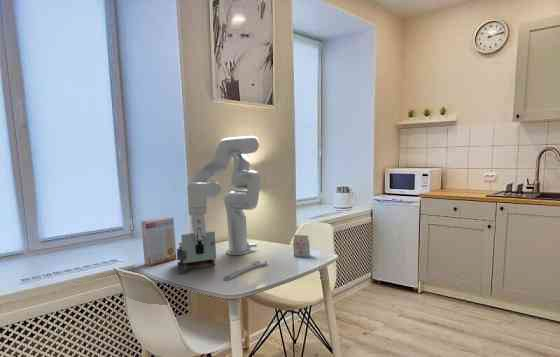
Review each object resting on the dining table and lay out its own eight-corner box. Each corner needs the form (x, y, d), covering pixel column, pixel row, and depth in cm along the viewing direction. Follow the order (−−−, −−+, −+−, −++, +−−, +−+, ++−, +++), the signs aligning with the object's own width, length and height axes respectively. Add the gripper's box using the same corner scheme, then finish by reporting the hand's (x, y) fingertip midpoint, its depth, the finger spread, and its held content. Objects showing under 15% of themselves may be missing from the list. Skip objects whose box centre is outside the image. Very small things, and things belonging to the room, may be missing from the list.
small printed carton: (297, 254, 167) (296, 233, 167) (309, 255, 164) (309, 234, 164) (293, 256, 164) (293, 235, 163) (306, 257, 161) (306, 236, 160)
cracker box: (171, 257, 172) (168, 216, 171) (177, 259, 168) (174, 217, 167) (143, 264, 162) (140, 220, 161) (149, 266, 158) (146, 221, 157)
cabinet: (212, 259, 164) (211, 239, 164) (216, 269, 149) (215, 246, 148) (177, 264, 160) (176, 243, 159) (178, 274, 144) (176, 251, 144)
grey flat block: (215, 257, 152) (213, 230, 152) (216, 259, 149) (214, 232, 148) (183, 261, 148) (181, 234, 147) (183, 263, 144) (181, 235, 144)
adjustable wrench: (227, 282, 133) (227, 278, 133) (216, 279, 137) (216, 275, 137) (269, 265, 153) (269, 261, 152) (259, 263, 157) (258, 259, 157)
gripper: (208, 212, 141) (210, 256, 142) (204, 208, 157) (206, 247, 158) (189, 213, 139) (191, 258, 140) (187, 209, 155) (190, 249, 155)
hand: (199, 252), depth 149 cm, fingers closed on grey flat block, 2 cm apart
